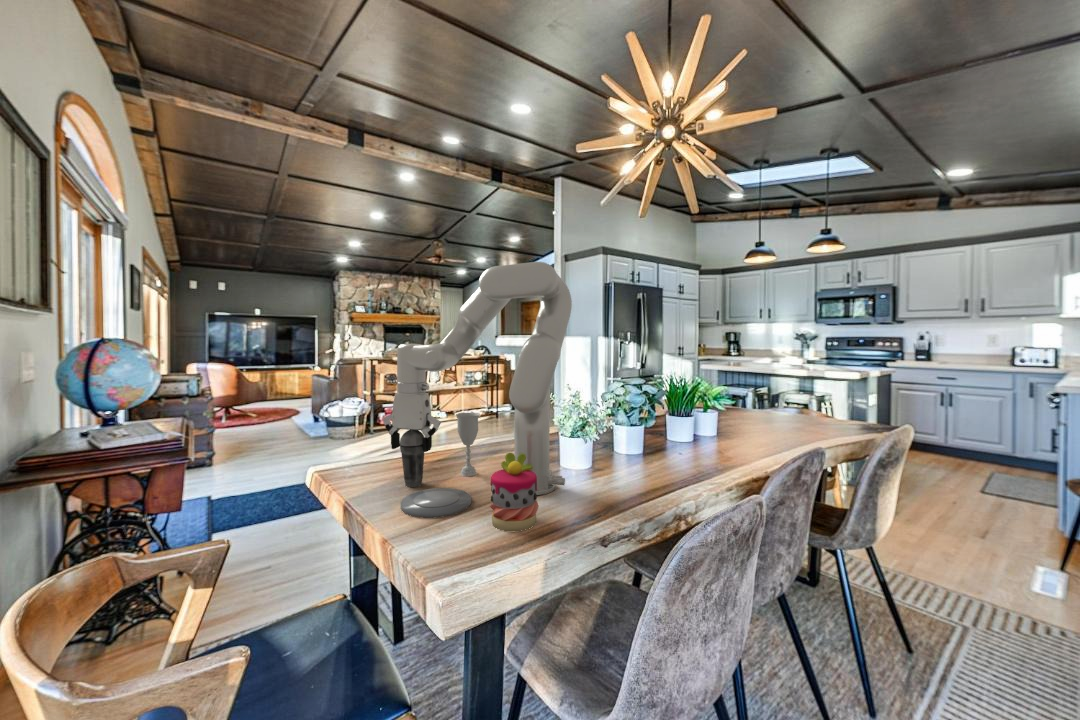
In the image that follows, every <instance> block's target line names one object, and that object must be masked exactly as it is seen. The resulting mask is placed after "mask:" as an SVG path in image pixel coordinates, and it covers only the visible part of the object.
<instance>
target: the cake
mask: <svg viewBox="0 0 1080 720" xmlns="http://www.w3.org/2000/svg"><path fill="white" fill-rule="evenodd" d="M504 457H505V458H504V459H505V460H503V461H501V464H500V465H501V468H502V469H499V470H496V471H495V472H493V473H492V474H491V476H490V486H491V487H490V491H491V496H490V501H491V503H492V504H491V503H490V505H489V508H490V509H492V510H493V511H492V513H491V523H492V527H493V528H494V529H496V528H497V529H496V530H498V529H500V530H499V531H501V530H504V531H503V532H506V531H519V532H522V531H521V530H524V531H526V530H525V529H528V530H530V529H532V528H533V527H535V526H536V524H537V513H538V510H539V506H540V505H539V503H538V501H537V498H538V495H537V494H536V491H537V476H536V474H535V473H534V472H532V471H530V470H531V469H532V468H533V466H532V465H530V464H526V465H523V463H524V461H525V460H526V456H525V454H524V453H521V454H520V455H519V456H518V458H517V461H515V453H513V452H508V453H506V454H505V456H504ZM535 523H536V524H535ZM534 525H535V526H534ZM532 526H533V527H532ZM531 527H532V528H531ZM529 528H530V529H529Z"/></svg>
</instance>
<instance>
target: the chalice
mask: <svg viewBox="0 0 1080 720" xmlns="http://www.w3.org/2000/svg"><path fill="white" fill-rule="evenodd" d="M480 415H481V414H480V413H477V412H460V413H456V414H455V416H456V419H457V434H458V436H459V438H460V440H461V442H462V444H463V445H464V446H466V448H465V449H466V450H465V453H466V456H465V460H466V464H465V465H463V467H462V468H461V472H460V473H459V475H460V476H462V477H473V476H476V475H477V474H478V472H477V471H476V469H475V466H474V465H472V463H471V459H472V457H471V453H472V451H471V445H473V444H474V442H475V440H476V438H477V435H478V433H479V417H480Z"/></svg>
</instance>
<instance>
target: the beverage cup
mask: <svg viewBox="0 0 1080 720" xmlns="http://www.w3.org/2000/svg"><path fill="white" fill-rule="evenodd" d="M424 437H425V436H424V434H423V433H422V431H421V430H407V431H405V432H404V433H403V434H402V435H401V437H400V444H399V449H400V454H401V461H402V471H403V479H404V483H405V484H404V485H405V487H406V486H407V488H418V487H420V485H421V486H422V484H423V475H424V461H425V452H424V451H423V438H424ZM417 486H418V487H417Z"/></svg>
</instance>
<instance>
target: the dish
mask: <svg viewBox="0 0 1080 720" xmlns="http://www.w3.org/2000/svg"><path fill="white" fill-rule="evenodd" d="M471 505H472V495H471V494H470V493H469V492H467V491H465V490H462V489H458V488H451V487H435V488H427V489H423V490H419V491H415V492H412V493H410V494H408V495H406V496H405V497H402V499H401V500H400V510H401V512H402V511H403V512H404V513H403V512H402V513H403V514H405V515H407V514H408V515H407V516H410V515H411V516H410V517H414V516H415V517H414V518H420V517H423V518H424V519H432V518H434V517H436V518H442V516H444V517H449V516H453V515H457V514H459V513H462V512H464V511H465V510H467V509H468V508H469V507H471ZM461 511H462V512H461ZM456 513H457V514H456Z"/></svg>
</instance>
